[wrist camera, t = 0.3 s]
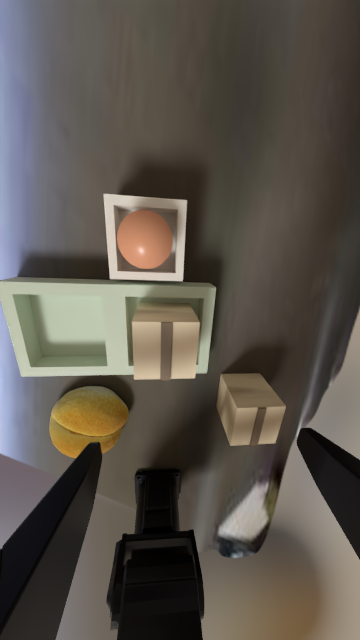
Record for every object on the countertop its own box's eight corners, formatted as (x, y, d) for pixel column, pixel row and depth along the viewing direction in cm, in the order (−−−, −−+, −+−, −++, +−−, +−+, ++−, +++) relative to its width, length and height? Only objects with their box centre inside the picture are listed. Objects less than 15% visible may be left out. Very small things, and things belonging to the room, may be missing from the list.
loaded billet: (186, 347, 22) (195, 379, 16) (140, 347, 21) (133, 381, 16) (189, 302, 20) (200, 323, 15) (139, 302, 19) (131, 322, 14)
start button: (170, 267, 16) (171, 269, 14) (123, 265, 15) (118, 267, 13) (171, 216, 14) (173, 211, 12) (121, 213, 14) (115, 207, 12)
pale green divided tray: (202, 360, 23) (206, 373, 21) (36, 362, 21) (21, 376, 19) (209, 282, 20) (216, 287, 18) (16, 276, 18) (-5, 281, 16)
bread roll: (137, 392, 24) (133, 419, 20) (113, 443, 26) (106, 475, 23) (67, 372, 22) (48, 397, 18) (48, 429, 25) (28, 461, 21)
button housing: (180, 276, 19) (185, 283, 16) (117, 274, 19) (107, 281, 15) (183, 208, 17) (190, 197, 14) (113, 202, 17) (100, 190, 13)
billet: (252, 404, 26) (276, 444, 21) (216, 406, 26) (230, 447, 20) (259, 372, 25) (287, 407, 19) (220, 373, 24) (238, 409, 19)
